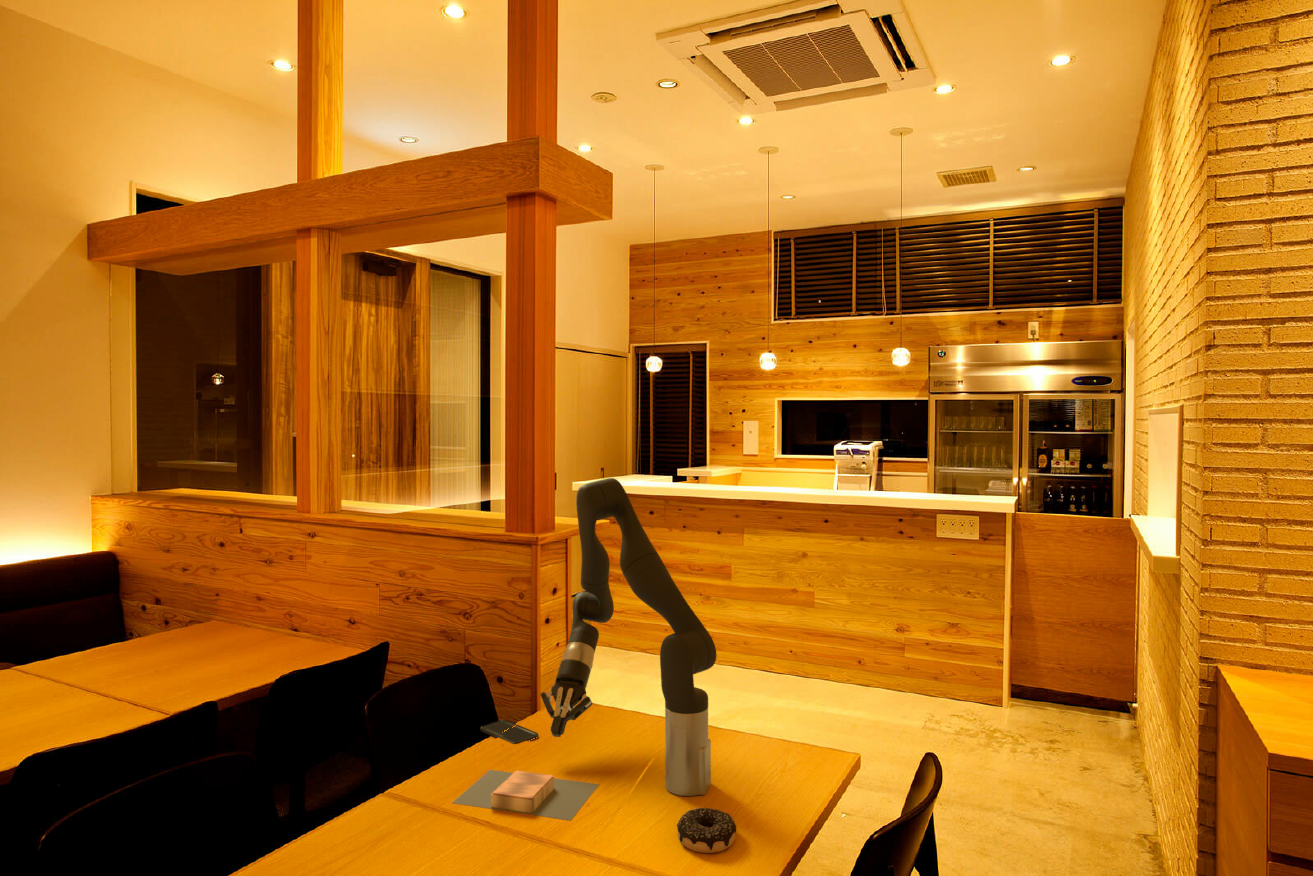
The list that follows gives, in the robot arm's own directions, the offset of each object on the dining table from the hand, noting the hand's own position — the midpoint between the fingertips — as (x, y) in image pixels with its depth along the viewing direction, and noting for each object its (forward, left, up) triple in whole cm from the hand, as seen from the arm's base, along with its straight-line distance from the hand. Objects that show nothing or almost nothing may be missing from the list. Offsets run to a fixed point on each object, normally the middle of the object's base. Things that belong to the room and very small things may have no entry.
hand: (555, 735), depth 177 cm
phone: (+19, -14, -8) cm, 25 cm away
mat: (0, +15, -7) cm, 16 cm away
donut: (-40, +21, -7) cm, 46 cm away
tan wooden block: (0, +11, -5) cm, 12 cm away
